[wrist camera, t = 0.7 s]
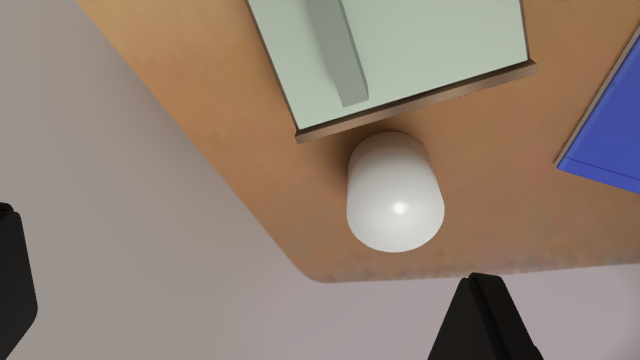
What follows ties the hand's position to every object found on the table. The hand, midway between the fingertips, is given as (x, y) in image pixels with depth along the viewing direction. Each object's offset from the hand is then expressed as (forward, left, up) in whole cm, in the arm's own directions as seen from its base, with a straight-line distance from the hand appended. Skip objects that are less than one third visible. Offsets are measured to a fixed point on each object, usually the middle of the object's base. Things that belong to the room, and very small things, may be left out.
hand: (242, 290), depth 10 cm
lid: (-5, 0, -23) cm, 23 cm away
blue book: (-22, +13, -28) cm, 38 cm away
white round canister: (-2, +13, -28) cm, 31 cm away
